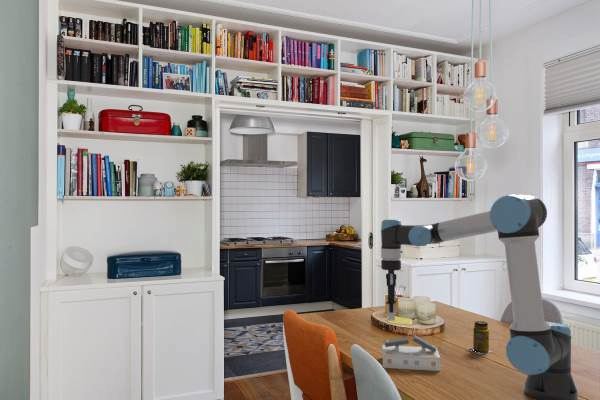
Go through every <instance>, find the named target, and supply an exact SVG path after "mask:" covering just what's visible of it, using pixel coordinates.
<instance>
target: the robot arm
mask: <svg viewBox="0 0 600 400" xmlns="http://www.w3.org/2000/svg"><path fill="white" fill-rule="evenodd" d="M547 217H548V210H547V206H546V204H545V203H544V202H543V201H542V200H541V199H540V198H538V197H536V196H534V195H528V194H513V193H512V194H508V195H507V194H506V195H504V196H501V197H499V198H498V199H496V200H495V201H494V203H493V204H492V206H491V207H490V210H488V211H484V212H480V213H475V214H471V215H467V216H463V217H462V216H461V217H458V218H453V219H449V220H445V221H441V222H436V223H431V224H417V225H414V224H413V225H411V224H409V225H408V224H406V225H404V224H402V221H401V220H400V219H383V220H382V221H381V227H380V228H381V229H380V237H381V248H380V258H381V260H380V261H381V264H380V265H381V267H380V268H381V269H382V270H383V271H387V273H386V274H385V278H386V287H387V301H385V302H386V303H385V304H386V305H387V321H389V322H391V321H392V322H395V320H396V314H395V313H396V303H397V300H396V294H395V293H396V291H395V290H396V288H395V287H396V285H397V273H395V271H400V270H401V269H402V261H401V258H402V257H401V256H402V254H403V250H402V249H401V248H402V246H411V247H426V246H427V245H433V244H434V245H436V244H441V243H444V242H449V241H453V240H459V239H464V238H470V237H476V236H482V235H484V234H485V235H486V234H490V233H496V232H497V235H498V236H497V237H498V240H499V241H500V242H502V244H504V250H505V259H506V267H507V268H506V269H507V274H508V275H507V276H508V284H509V292H510V300H511V310H512V316H513V322H512V323H511V324H510V325H509V326H508V327H509V335H510V336H509V337H510V339H509V340H508V341H507V344H506V346H505V353H506V357H507V360H508V362H509V364H510V365H511V366H513V368H515V369H516V370H517V371H519V372H521V373H523V374H524V375H527V376H526V379H525V382H524V392H525V394H527V395H528V396H530V397H532V398H534V399H537V400H578V389H577V386H576V383H575V381H574V378H573V375H572V338H573V337H572V333H571V331H572V330H571V328H570V326H568V325H566V324H563V323H557V322H554V321H553V322H552V321H546V320H545V312H544V307H543V306H544V305H543V304H544V303H543V299H542V291H541V282H540V275H539V268H538V259H537V251H536V241H537V239H538V238H540V229H539V228H540V227H542V226H543V225H544V223H546V220H547Z"/></svg>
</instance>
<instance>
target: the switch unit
mask: <svg viewBox="0 0 600 400" xmlns="http://www.w3.org/2000/svg"><path fill="white" fill-rule="evenodd" d="M383 367H384V369H397V370H398V369H399V370H414V371H415V370H416V371H418V370H419V371H433V372H441V355H440V352H439V350H438V348H437V347H436V352H435V353H434V352H432V351H431V350H429V349H427V348H425V347H423V346H422V345H421V346H409V345H405V346H404V345H397V346H390V347H385V344H383V345H382V368H383Z"/></svg>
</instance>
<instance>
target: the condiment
mask: <svg viewBox="0 0 600 400" xmlns="http://www.w3.org/2000/svg"><path fill="white" fill-rule="evenodd" d="M489 332H490V330H489V323H488V322H487V321H482V320H477V321H474V328H473V337H472V338H473V341H472V342H473V346H472V347H471V348H467V349H466V351H468V352H470V353H473V354H477V355H480V356H482V355H485V354H489V353H492V352H493V353H494V351H493V350H490V347H489V346H490V345H489V344H490V337H489V335H490V333H489ZM472 349H474V351H473V350H472ZM471 350H472V351H471ZM475 351H476V352H475ZM478 352H480V353H478ZM487 352H488V353H487ZM484 353H485V354H484Z"/></svg>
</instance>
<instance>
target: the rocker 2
mask: <svg viewBox="0 0 600 400" xmlns="http://www.w3.org/2000/svg"><path fill="white" fill-rule="evenodd" d="M411 338H412V341H413V342H415V343H417V344H418V345H420V346H421V347H422V346H423V347H425V348H427V349H429V350H431V351H432V352H434V353H435V352H436V348H437V347H436V346H435V345H434V344H432V343H430V342H429V341H427V340H425V339H423V338H421V337H419V336H417V335H416V334H413V336H412V337H411Z"/></svg>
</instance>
